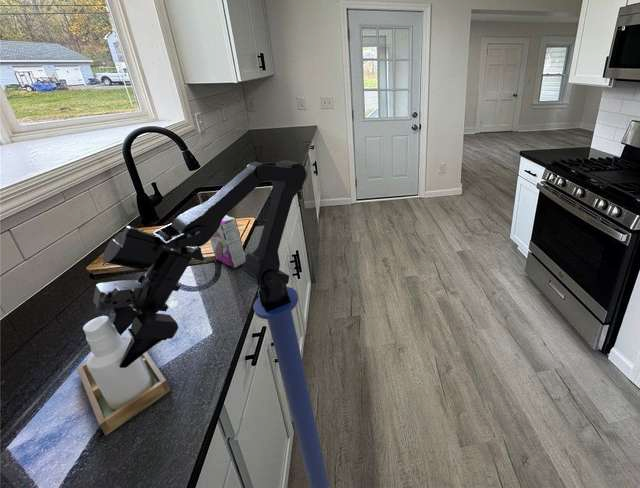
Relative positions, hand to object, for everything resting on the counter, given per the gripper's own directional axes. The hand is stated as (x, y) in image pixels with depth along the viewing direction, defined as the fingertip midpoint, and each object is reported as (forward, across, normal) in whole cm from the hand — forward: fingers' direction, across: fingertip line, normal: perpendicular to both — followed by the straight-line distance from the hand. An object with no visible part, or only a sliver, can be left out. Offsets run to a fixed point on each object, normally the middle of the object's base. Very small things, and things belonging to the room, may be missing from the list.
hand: (115, 354), depth 58 cm
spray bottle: (+8, 0, +7) cm, 10 cm away
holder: (+8, -5, +7) cm, 12 cm away
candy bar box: (-16, -31, +32) cm, 47 cm away
